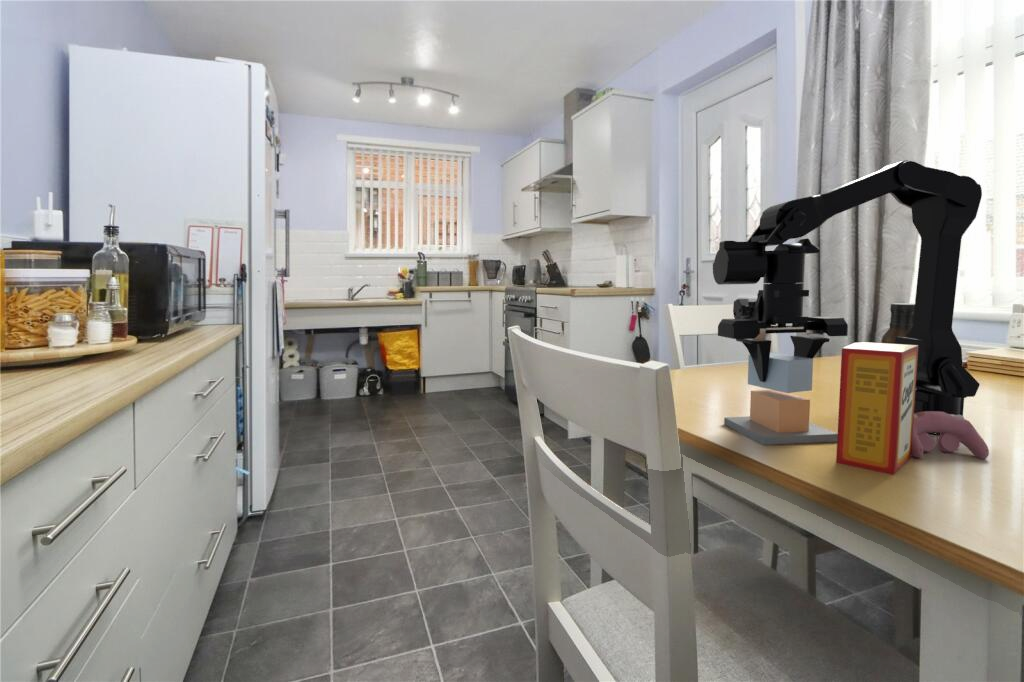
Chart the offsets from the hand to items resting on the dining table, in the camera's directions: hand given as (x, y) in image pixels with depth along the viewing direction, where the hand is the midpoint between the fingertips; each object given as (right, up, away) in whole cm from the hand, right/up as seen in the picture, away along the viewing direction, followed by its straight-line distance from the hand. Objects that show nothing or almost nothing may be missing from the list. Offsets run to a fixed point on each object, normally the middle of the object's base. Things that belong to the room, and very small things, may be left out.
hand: (779, 380), depth 85 cm
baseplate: (0, -8, +1) cm, 8 cm away
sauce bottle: (+31, -6, +17) cm, 36 cm away
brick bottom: (0, -7, +1) cm, 7 cm away
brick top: (0, -1, 0) cm, 1 cm away
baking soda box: (+6, -10, -13) cm, 17 cm away
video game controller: (+17, -10, -11) cm, 22 cm away
